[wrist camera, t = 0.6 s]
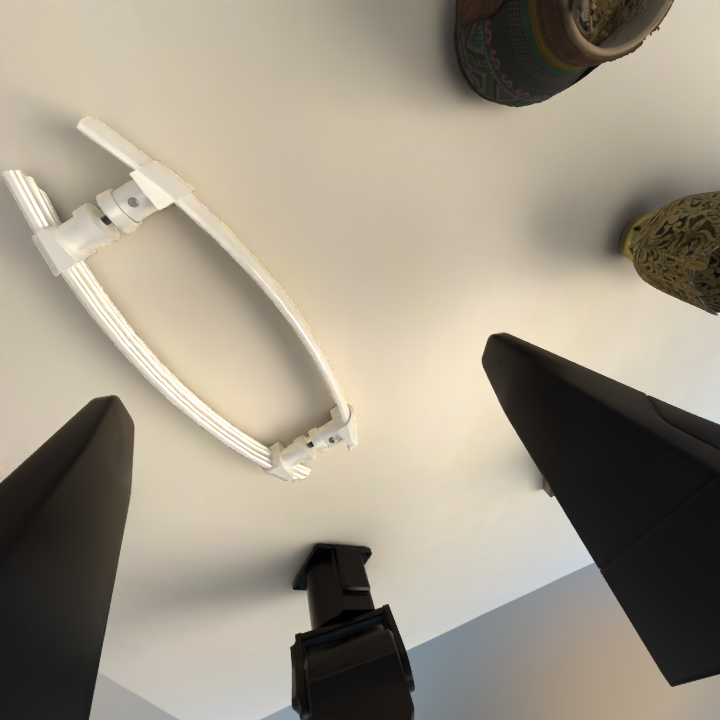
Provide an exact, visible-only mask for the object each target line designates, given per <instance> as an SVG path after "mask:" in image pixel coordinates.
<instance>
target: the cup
mask: <svg viewBox="0 0 720 720" xmlns="http://www.w3.org/2000/svg"><path fill="white" fill-rule="evenodd" d="M620 249H621V252H622V254H623V255H624V256H625V257H626V258H627V259H628V260H630V261H633V263H634V267H635V269H636V271H637V273H638V274H639V276H640V277H641V278H642V279H643V280H644V281H645V282H647V283H648V284H650V285H651V286H653V287H654V288H656V289H658V290H660V291H662V292H664V293H666V294H669V295H671V296H673V297H675V298H677V299H680V300H682V301H684V302H687V303H689V304H691V305H693V306H696V307H698V308H700V309H703V310H705V311H707V312H709V313H711V314H713V315H718V314H717V313H718V312H720V191H718V192H708V193H700V194H695V195H690V196H686V197H683V198H680V199H677V200H675V201H673V202H671V203H669V204H667V205H665V206H664V207H663V208H661V209H660V210H658V211H650V212H647V213H644V214H641V215H639V216H637V217H636V218H634V219H633V220H632V221H631V222H630V223H629V224H628V226H627V227H626V228H625V230H624V232H623V234H622V237H621V240H620ZM715 312H716V313H715Z"/></svg>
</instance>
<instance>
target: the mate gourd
mask: <svg viewBox="0 0 720 720" xmlns="http://www.w3.org/2000/svg"><path fill="white" fill-rule="evenodd" d="M673 2H674V0H456V17H455V18H456V19H455V27H454V28H455V30H454V45H455V51H456V57H457V61H458V64H459V67H460V69H461V72H462V74H463V77H464V78H465V80H466V82H467V84H468V85H469V86H470V88H471V89H473V91H474V92H476V93H477V94H478V95H479V96H481V97H482V98H484V99H486V100H488V101H492V102H495V103H498V104H503V105H507V106H511V107H513V106H514V107H522V106H527V105H531V104H534V103H540V102H542V101H544V100H547V99H549V98H551V97H552V96H554V95H556V94H557V93H560V92H561V91H564V90H565V89H567V88H569V87H570V86H572V85H574V84H575V83H577V82H578V81H580V80H581V79H582V78H584V77H585V76H587V75H588V74H589V73H590V72H591V71H593V70H594V69H595V68H597V67H598V66H599V65H600V64H602V63H605V62H607V61H610V62H611V61H613V60H616V59H618V58H622V57H623V56H625V55H628V54H629V53H633V52H634V51H635V50H636V49H637V48H639V47H640V46H641V45H642V44H643V40H645V39H646V37H647V36H648V35H649V34H650V36H651V35H652V34H651V33H652V32H654V31H655V30H656V29H657V30H659V29H660V28H659V27H658V26H659V25H660V23H661V22H662V20H663V19H664V18H665V16H666V15H667V13H668V11H669V10H670V8H671V6H672V4H673Z"/></svg>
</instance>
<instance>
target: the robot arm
mask: <svg viewBox="0 0 720 720" xmlns="http://www.w3.org/2000/svg"><path fill="white" fill-rule="evenodd" d="M482 365H483V368H484V370H485V372H486V374H487V377H488V379H489V381H490V383H491V385H492V387H493V389H494V392H495V394H496V396H497V398H498V400H499V402H500V404H501V406H502V408H503V410H504V412H505V414H506V416H507V418H508V419H509V421H510V423H511V424H512V426H513V428H514V429H515V431H516V433H517V434H518V436H519V438H520V439H521V441H522V443H523V444H524V446H525V448H526V449H527V451H528V452H529V454H530V456H531V457H532V459H533V461H534V462H535V464H536V466H537V467H538V469H539V471H540V472H541V474H542V476H543V477H544V479H545V481H546V482H547V484H548V486H549V487H550V489H551V490H552V492H553V494H554V495H555V497H556V499H557V500H558V502H559V504H560V505H561V507H562V509H563V510H564V512H565V514H566V515H567V517H568V519H569V520H570V522H571V524H572V525H573V527H574V528H575V530H576V532H577V533H578V535H579V537H580V538H581V540H582V542H583V543H584V545H585V547H586V548H587V550H588V552H589V553H590V555H591V557H592V558H593V560H594V562H595V563H596V565H597V567H598V568H599V569H600V572H601V574H602V575H603V577H604V578H605V580H606V582H607V583H608V585H609V587H610V588H611V590H612V592H613V593H614V595H615V596H616V598H617V600H618V601H619V603H620V605H621V607H622V608H623V610H624V612H625V613H626V615H627V616H628V618H629V620H630V621H631V623H632V625H633V626H634V628H635V629H636V631H637V633H638V635H639V636H640V638H641V640H642V641H643V643H644V645H645V646H646V648H647V650H648V651H649V653H650V655H651V656H652V658H653V659H654V661H655V663H656V664H657V666H658V668H659V669H660V671H661V673H662V674H663V676H664V677H665V679H666V680H667V681H668V683H669V684H670V686H672V687H674V686H677V685H681V684H685V683H689V682H692V681H696V680H700V679H704V678H707V677H711V676H714V675H718V674H720V425H719V424H717V423H714V422H712V421H709V420H707V419H704V418H702V417H699V416H696V415H694V414H691V413H689V412H687V411H684V410H682V409H680V408H677V407H675V406H673V405H670V404H668V403H665V402H663V401H661V400H659V399H656V398H654V397H652V396H649V395H648V396H647V395H646V394H645V393H643V392H640V391H638V390H636V389H633V388H631V387H629V386H627V385H624V384H622V383H620V382H617V381H615V380H613V379H611V378H608V377H606V376H604V375H601V374H599V373H597V372H595V371H592V370H590V369H588V368H585V367H583V366H581V365H579V364H576V363H574V362H572V361H569V360H567V359H565V358H563V357H560V356H558V355H556V354H554V353H551V352H549V351H547V350H544V349H542V348H540V347H538V346H535V345H533V344H531V343H528V342H526V341H524V340H522V339H519V338H517V337H515V336H512V335H510V334H508V333H498V334H492V335H491V336H490V337H489V338H488V340H487V343H486V347H485V350H484V353H483V356H482ZM133 448H134V422H133V420H132V418H131V416H130V415H129V413H128V411H127V410H126V408H125V406H124V405H123V403H122V401H121V400H120V399H119V397H117V396H115V395H111V396H104V397H98V398H95V399H93V400H91V401H90V402H89V403H88V404H87V405H86V406H85V407H83V408H82V409H81V410H80V411H79V412H78V413H77V414H76V415H75V416H74V417H72V418H71V419H70V420H69V421H68V422H67V423H66V424H65V425H64V426H63V427H61V428H60V429H59V430H58V431H57V432H56V433H55V434H54V435H53V436H52V437H50V438H49V439H48V440H47V441H46V442H45V443H44V444H43V445H42V446H41V447H40V448H38V449H37V450H36V451H35V452H34V453H33V454H32V455H31V456H30V457H29V458H27V459H26V460H25V461H24V462H23V463H22V464H21V465H20V466H19V467H18V468H16V469H15V470H14V471H13V472H12V473H11V474H10V475H9V476H8V477H7V478H5V479H4V480H3V481H2V482H1V483H0V720H89V716H90V711H91V705H92V700H93V694H94V689H95V684H96V679H97V673H98V668H99V663H100V657H101V652H102V646H103V641H104V636H105V630H106V625H107V620H108V614H109V609H110V603H111V598H112V593H113V587H114V582H115V577H116V571H117V566H118V561H119V555H120V550H121V544H122V539H123V534H124V528H125V523H126V518H127V512H128V507H129V501H130V495H131V484H132V467H133ZM371 554H372V552H371V549H370V548H363V547H351V546H338V545H326V544H318V545H316V546H315V547H314V548H313V550H312V551H311V553H310V555H309V556H308V558H307V560H306V561H305V563H304V565H303V566H302V568H301V570H300V571H299V573H298V575H297V576H296V578H295V580H294V582H293V583H292V587H293V589H294V590H307V596H308V604H309V612H310V619H311V627H312V630H311V631H308V632H305V633H298V634H295V640H296V642H295V644H294V645H293V646H291V647H290V649H291V662H292V708H293V710H294V711H296V712H297V713H298V714H299V715H300V719H301V720H414V705H413V702H412V698H411V695H410V692H413V691H414V690H415V686H414V680H413V675H412V671H411V667H410V663H409V659H408V656H407V653H406V649H405V647H404V644H403V641H402V638H401V636H400V633H399V631H398V628H397V625H396V623H395V620H394V617H393V615H392V612H391V610H390V607H389V604H386V605H383V607H381V608H378V609H375V607H374V604H373V600H372V597H371V593H370V585H369V581H368V578H367V574H366V571H365V567H364V565H365V563H366V562H367V561H368V559H369V558H370V556H371Z"/></svg>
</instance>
